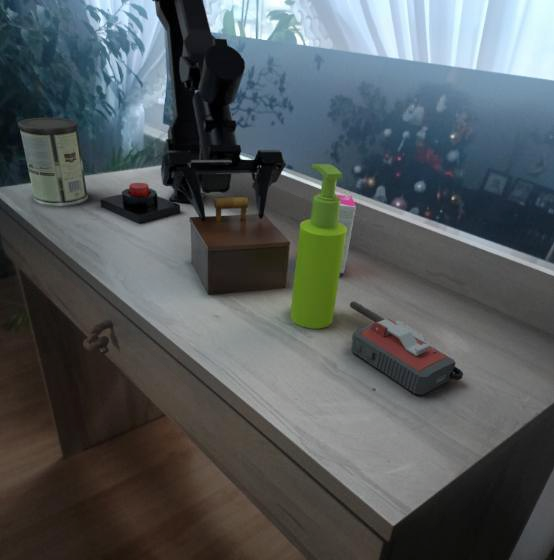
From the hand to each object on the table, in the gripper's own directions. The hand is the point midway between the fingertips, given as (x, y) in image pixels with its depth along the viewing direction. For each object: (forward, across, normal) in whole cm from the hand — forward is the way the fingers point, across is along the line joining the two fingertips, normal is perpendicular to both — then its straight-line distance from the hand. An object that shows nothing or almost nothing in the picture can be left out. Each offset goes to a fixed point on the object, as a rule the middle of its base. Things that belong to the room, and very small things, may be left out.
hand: (233, 218), depth 79 cm
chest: (+8, 0, -3) cm, 9 cm away
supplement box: (+8, -15, -4) cm, 18 cm away
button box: (-15, +11, -26) cm, 32 cm away
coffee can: (-21, +25, -32) cm, 46 cm away
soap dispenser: (+18, -6, +7) cm, 21 cm away
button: (-17, +11, -24) cm, 31 cm away
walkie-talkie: (+26, -12, +14) cm, 32 cm away
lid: (+3, 0, +1) cm, 3 cm away
